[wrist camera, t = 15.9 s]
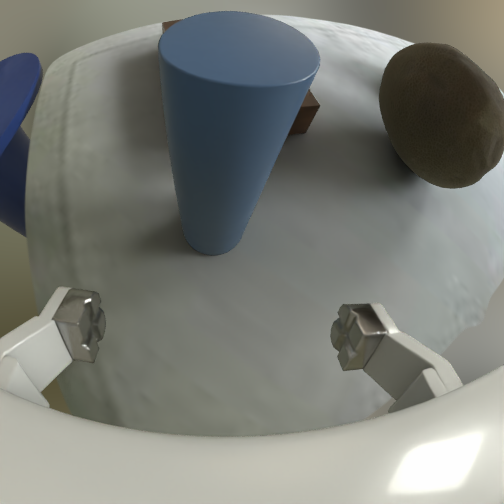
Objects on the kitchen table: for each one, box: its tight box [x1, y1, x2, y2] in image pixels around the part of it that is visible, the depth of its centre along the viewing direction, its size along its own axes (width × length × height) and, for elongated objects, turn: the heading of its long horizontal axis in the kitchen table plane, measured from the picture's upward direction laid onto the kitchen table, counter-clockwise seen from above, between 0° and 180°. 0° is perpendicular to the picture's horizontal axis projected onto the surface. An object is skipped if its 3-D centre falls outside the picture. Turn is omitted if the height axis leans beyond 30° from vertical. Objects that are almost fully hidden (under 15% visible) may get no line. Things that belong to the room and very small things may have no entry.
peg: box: [158, 11, 320, 255], centre depth 13 cm, size 4×4×15 cm
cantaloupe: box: [379, 43, 504, 189], centre depth 19 cm, size 14×14×15 cm
